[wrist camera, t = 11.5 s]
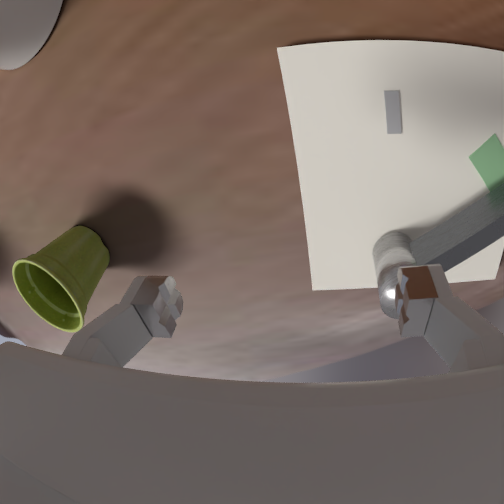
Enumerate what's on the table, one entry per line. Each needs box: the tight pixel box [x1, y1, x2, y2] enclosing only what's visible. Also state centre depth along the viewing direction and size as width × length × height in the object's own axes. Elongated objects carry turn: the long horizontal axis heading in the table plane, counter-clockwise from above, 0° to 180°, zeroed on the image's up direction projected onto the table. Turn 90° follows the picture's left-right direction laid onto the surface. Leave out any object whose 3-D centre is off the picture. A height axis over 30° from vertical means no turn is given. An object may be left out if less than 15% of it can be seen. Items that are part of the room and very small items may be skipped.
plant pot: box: [12, 226, 110, 332], centre depth 30 cm, size 9×9×9 cm
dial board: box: [277, 40, 504, 290], centre depth 21 cm, size 20×18×2 cm
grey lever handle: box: [372, 183, 504, 319], centre depth 18 cm, size 17×4×6 cm, turn 133°
